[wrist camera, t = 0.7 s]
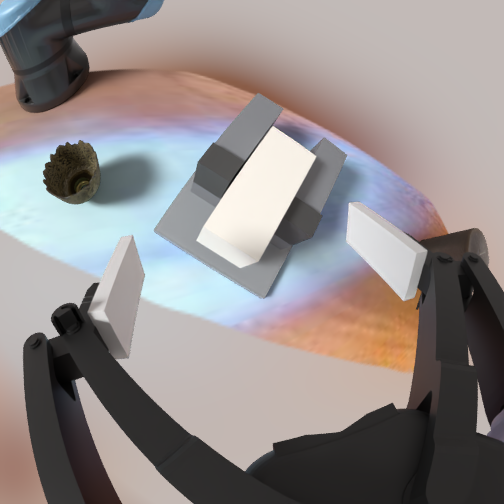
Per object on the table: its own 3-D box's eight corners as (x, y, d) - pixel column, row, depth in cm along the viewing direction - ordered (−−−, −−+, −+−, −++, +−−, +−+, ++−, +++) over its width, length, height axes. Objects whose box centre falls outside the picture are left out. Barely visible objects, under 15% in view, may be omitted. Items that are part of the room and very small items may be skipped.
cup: (112, 166, 35) (102, 138, 27) (106, 215, 34) (91, 196, 26) (67, 167, 33) (50, 141, 25) (59, 215, 32) (37, 197, 24)
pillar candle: (413, 236, 49) (472, 221, 35) (438, 242, 52) (492, 230, 37) (414, 285, 47) (475, 280, 33) (439, 286, 50) (495, 281, 36)
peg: (240, 268, 32) (258, 261, 26) (196, 240, 31) (203, 226, 25) (291, 178, 36) (316, 156, 30) (254, 153, 35) (272, 125, 29)
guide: (260, 298, 38) (292, 299, 28) (154, 232, 35) (148, 209, 25) (326, 171, 45) (363, 144, 35) (243, 114, 42) (263, 73, 32)
